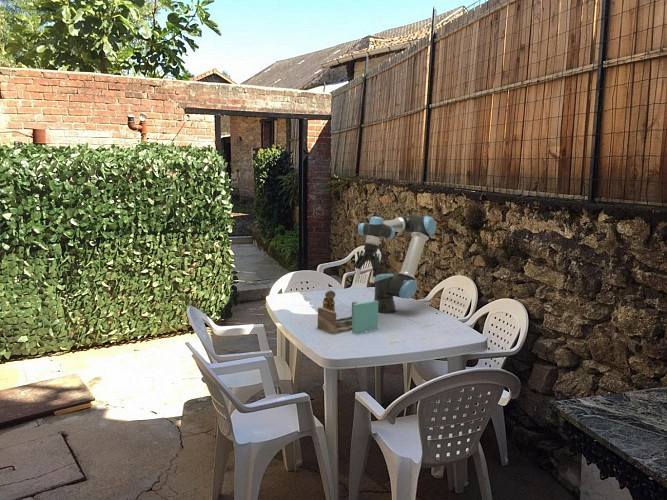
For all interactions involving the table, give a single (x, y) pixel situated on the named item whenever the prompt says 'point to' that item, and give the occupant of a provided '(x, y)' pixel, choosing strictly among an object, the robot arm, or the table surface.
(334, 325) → the wooden rack
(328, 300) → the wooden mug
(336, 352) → the table surface
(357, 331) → the door panel
